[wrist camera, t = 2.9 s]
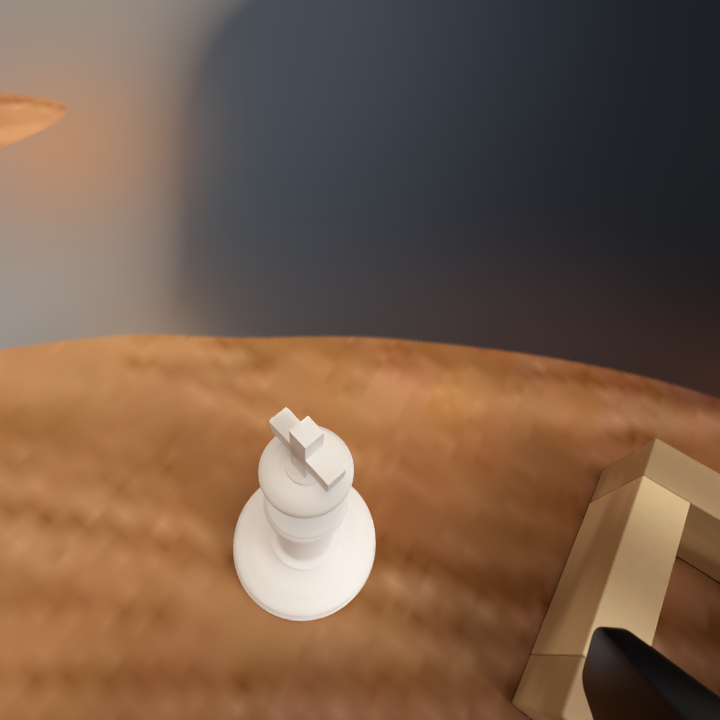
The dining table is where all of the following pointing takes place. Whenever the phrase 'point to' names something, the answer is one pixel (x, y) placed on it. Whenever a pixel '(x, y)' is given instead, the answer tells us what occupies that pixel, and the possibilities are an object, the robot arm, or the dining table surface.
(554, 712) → the rack
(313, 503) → the chess piece
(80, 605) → the dining table surface
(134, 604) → the dining table surface
